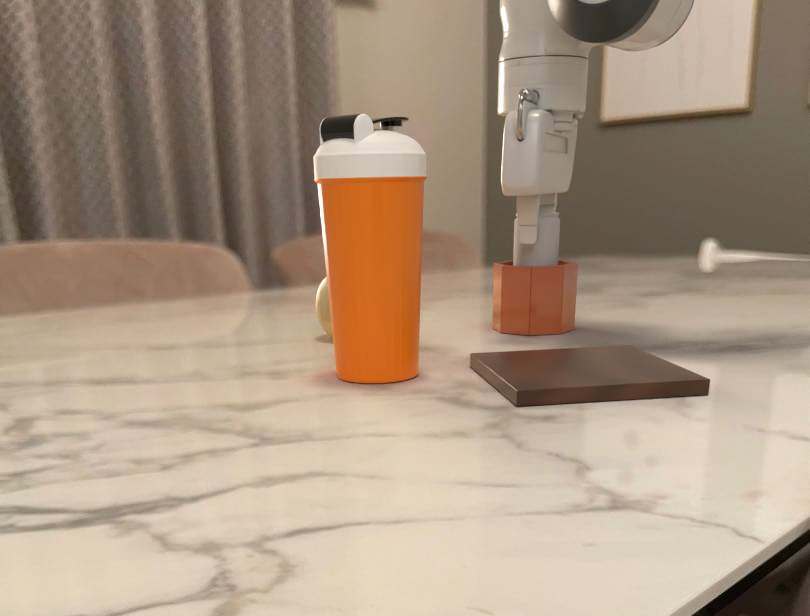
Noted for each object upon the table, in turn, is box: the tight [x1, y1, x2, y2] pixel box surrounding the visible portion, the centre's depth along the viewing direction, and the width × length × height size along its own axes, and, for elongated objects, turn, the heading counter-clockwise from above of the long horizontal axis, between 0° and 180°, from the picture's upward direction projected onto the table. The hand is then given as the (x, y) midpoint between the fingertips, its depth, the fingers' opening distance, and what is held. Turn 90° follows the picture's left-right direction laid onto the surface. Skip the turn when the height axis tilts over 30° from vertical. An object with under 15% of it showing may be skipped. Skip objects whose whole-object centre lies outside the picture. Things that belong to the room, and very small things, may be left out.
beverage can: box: [512, 211, 561, 266], centre depth 91 cm, size 5×5×12 cm
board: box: [469, 344, 711, 407], centre depth 69 cm, size 15×15×1 cm
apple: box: [315, 276, 333, 338], centre depth 90 cm, size 8×8×8 cm
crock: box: [492, 259, 579, 336], centre depth 92 cm, size 8×8×7 cm
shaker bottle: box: [312, 113, 428, 384], centre depth 69 cm, size 9×9×20 cm
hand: (536, 241), depth 90 cm, fingers open, 7 cm apart
